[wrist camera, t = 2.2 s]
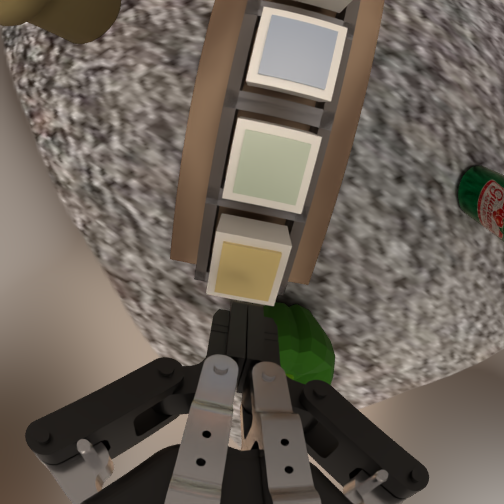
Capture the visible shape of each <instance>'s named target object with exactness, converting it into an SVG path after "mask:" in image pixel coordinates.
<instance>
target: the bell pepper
mask: <svg viewBox="0 0 504 504" xmlns="http://www.w3.org/2000/svg"><path fill="white" fill-rule="evenodd" d="M263 308H264V317H269V318H273V320H274V322H275V323H276V325H277V329H278V342H279V352H280V365H281V368H282V369H283V370H284V372H285V374H286V376H288V377H289V378H291V379H292V380H295V381H297V382H300V383H303V384H305V385H306V383H307V382H309V381H311V380H322V381H324V382H327V383H328V384H330V385H331V382H332V379H333V374H334V364H335V354H334V351H333V347H332V344H331V341H330V339H329V338H328V336H327V335H326V333H325V332H324V330H323V329H322V327H321V326H320V325H319V323H318V322H317V320H316V319H315V318H314V316H313V315H312V314H311V312H310V311H309V310H307V309H305V308H304V307H302V306H300V305H297V304H294V305H292V306H290V307H288V306H287V305H285V304H284V303H278V302H275V304H274V306H269V305H264V306H263Z"/></svg>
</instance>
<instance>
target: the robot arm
mask: <svg viewBox="0 0 504 504" xmlns="http://www.w3.org/2000/svg"><path fill="white" fill-rule="evenodd" d="M236 387H237V393H242V402H241V405H240V421H241V439H242V444H241V450H237V449H234V448H231V447H228V443H229V436H230V430H231V423H232V417H233V402H234V395H235V391H236ZM180 414H189V415H188V419H187V422H186V426H185V430H184V433H183V437H182V441H181V444H177V445H173V446H169V447H166V448H164V449H162V450H160V451H158V452H157V453H155V454H154V455H152V456H151V457H149V458H148V459H147V460H145V461H144V462H142V463H141V464H140V465H138V466H137V467H135V468H134V469H132V470H131V471H130V472H128V473H127V474H125V475H124V476H122V477H121V478H119V479H118V480H116V481H115V482H113V483H112V484H110V485H108V486H107V487H105V488H104V489H102V486H103V483H104V482H105V481H106V480H107V479H108V478H109V477H110V476H111V475H112V473H113V470H114V465H113V461H112V459H113V458H115V457H116V456H118V455H120V454H121V453H123V452H125V451H126V450H128V449H130V448H131V447H133V446H134V445H136V444H138V443H139V442H141V441H142V440H144V439H145V438H147V437H149V436H150V435H152V434H153V433H155V432H156V431H158V430H159V429H161V428H162V427H164V426H165V425H167V424H168V423H170V422H171V421H173V420H174V419H176V418H177V417H178V416H179V415H180ZM25 437H26V442H27V444H28V446H29V447H30V448H31V450H32V451H33V452H34V453H35V455H36V456H37V458H38V459H39V460H40V461H41V462H42V463H43V464H44V465H45V466H46V467H47V468H48V469H49V470H50V472H51V473H52V475H53V476H54V478H55V479H56V481H57V482H58V484H59V485H60V487H61V488H62V490H63V491H64V493H65V494H66V495H67V497H68V498H69V499H70V501H71V502H72V503H73V504H401V503H402V502H403V501H404V500H405V499H407V498H409V497H411V496H412V495H414V494H416V493H417V492H419V491H421V490H422V489H423V488H425V487H426V485H427V484H428V481H429V474H428V471H427V469H426V468H425V466H424V465H422V464H421V463H420V462H419V461H417V460H416V459H415V458H414V457H413V456H411V455H410V454H409V453H407V451H405V450H404V449H403V448H402V447H401V446H399V445H398V444H397V443H396V442H395V441H393V440H392V439H391V438H390V437H389V436H387V435H386V434H385V433H384V432H383V431H382V430H381V429H379V428H378V427H377V426H376V425H375V424H373V423H372V422H371V421H370V420H369V419H368V418H367V417H365V416H364V415H363V414H362V413H361V412H360V411H359V410H358V409H356V408H355V407H354V406H353V405H352V404H351V403H350V402H349V401H347V400H346V399H345V398H344V397H343V396H342V395H341V394H340V393H339V392H337V391H336V390H335V389H334V388H333V387H332V386H331V385H330V384H328V383H327V382H324V381H322V380H311V381H309V382H307V383H306V385H305V384H303V383H300V382H297V381H295V380H292V379H291V378H289V377H288V376H286V374H285V372H284V370H283V369H282V368H281V365H280V352H279V342H278V329H277V325H276V323H275V322H274V320H273V318H269V317H264V308H263V306H261V305H255V304H249V303H248V304H247V303H243V302H237V301H232V302H231V306H230V311H227V310H221V309H219V310H218V311H217V312H216V313H215V314H214V316H213V321H212V327H211V333H210V339H209V345H208V351H207V356H206V358H205V359H204V360H203V361H202V362H201V363H199V364H197V365H193V366H182V365H181V364H180V363H179V362H178V361H176V360H174V359H172V358H167V357H163V358H158V359H156V360H154V361H152V362H150V363H148V364H146V365H145V366H143V367H141V368H139V369H137V370H135V371H133V372H131V373H129V374H128V375H126V376H124V377H122V378H120V379H118V380H116V381H114V382H112V383H111V384H109V385H107V386H105V387H103V388H101V389H99V390H97V391H95V392H93V393H91V394H89V395H87V396H85V397H83V398H81V399H79V400H77V401H75V402H73V403H71V404H69V405H67V406H65V407H63V408H61V409H59V410H57V411H55V412H53V413H50V414H48V415H46V416H44V417H42V418H40V419H38V420H36V421H34V422H32V423H31V424H30V425H29V426H28V428H27V430H26V435H25ZM308 454H309V455H310V456H311V457H312V458H313V459H314V460H315V461H316V462H317V463H318V464H319V465H321V467H322V468H324V469H325V470H326V471H327V472H328V473H329V474H330V475H331V476H332V477H333V478H334V479H335V480H336V481H337V482H338V483H340V484H341V485H342V486H343V493H342V492H341V491H340V490H339V489H338V488H337V487H335V485H334V484H333V483H332V482H331V481H330V480H329V479H328V478H327V477H326V476H325V475H324V474H323V473H322V472H321V471H320V470H319V469H318V468H317V467H316V466H315V465H313V464H312V463H310V462H309V459H308Z"/></svg>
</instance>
